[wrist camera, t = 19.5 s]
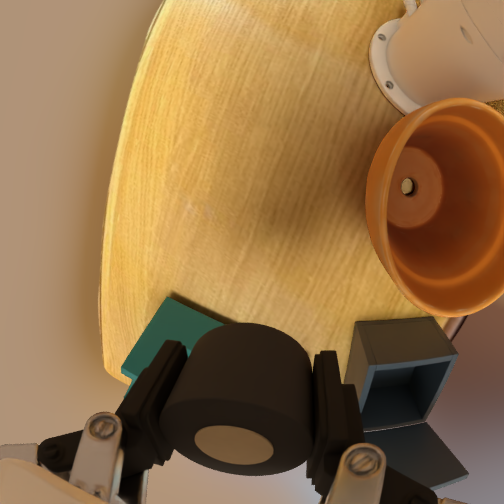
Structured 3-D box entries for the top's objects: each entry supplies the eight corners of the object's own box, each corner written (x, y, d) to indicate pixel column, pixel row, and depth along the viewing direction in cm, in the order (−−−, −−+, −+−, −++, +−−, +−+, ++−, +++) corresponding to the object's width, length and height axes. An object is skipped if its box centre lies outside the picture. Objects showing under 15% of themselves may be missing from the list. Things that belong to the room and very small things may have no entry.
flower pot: (411, 278, 27) (465, 347, 15) (311, 204, 26) (328, 244, 14) (476, 178, 22) (556, 199, 10) (385, 91, 22) (449, 51, 9)
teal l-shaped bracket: (157, 343, 37) (124, 401, 28) (167, 296, 30) (120, 367, 22) (271, 393, 37) (255, 456, 29) (309, 359, 31) (296, 439, 22)
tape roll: (182, 316, 10) (138, 385, 6) (318, 324, 9) (326, 406, 6) (199, 402, 11) (175, 465, 8) (305, 411, 11) (304, 480, 7)
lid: (368, 502, 14) (355, 531, 13) (469, 473, 12) (450, 506, 12) (348, 433, 26) (342, 464, 26) (426, 421, 25) (416, 452, 24)
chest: (355, 321, 30) (368, 365, 23) (432, 316, 28) (459, 353, 21) (342, 389, 34) (347, 433, 26) (410, 382, 32) (425, 421, 25)
